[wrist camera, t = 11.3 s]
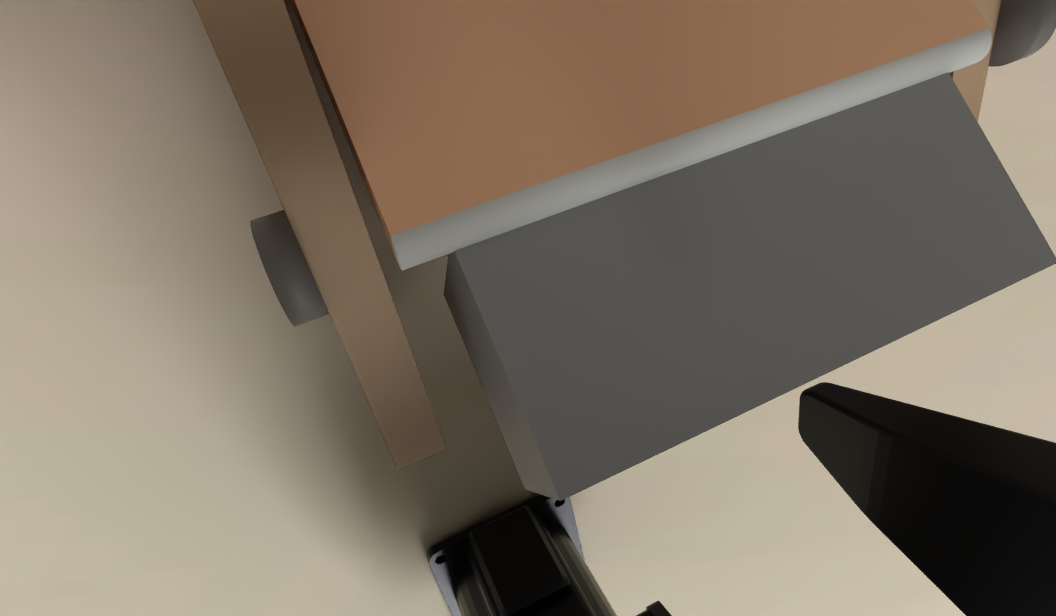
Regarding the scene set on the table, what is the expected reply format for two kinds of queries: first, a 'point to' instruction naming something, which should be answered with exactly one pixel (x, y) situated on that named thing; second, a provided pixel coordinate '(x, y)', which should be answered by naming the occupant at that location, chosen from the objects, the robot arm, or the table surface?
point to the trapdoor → (672, 197)
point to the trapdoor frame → (336, 221)
